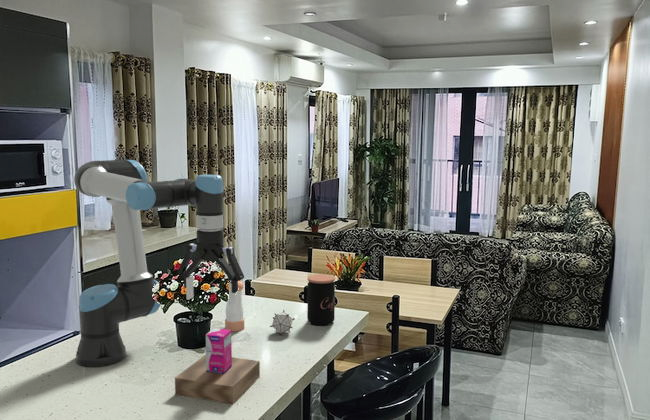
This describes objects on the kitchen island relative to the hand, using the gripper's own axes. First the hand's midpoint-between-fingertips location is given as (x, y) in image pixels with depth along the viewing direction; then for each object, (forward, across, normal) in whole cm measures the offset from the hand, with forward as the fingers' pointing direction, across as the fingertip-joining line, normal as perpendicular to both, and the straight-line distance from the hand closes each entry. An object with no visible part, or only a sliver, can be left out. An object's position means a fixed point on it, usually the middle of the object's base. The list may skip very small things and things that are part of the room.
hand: (210, 300), depth 160 cm
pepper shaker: (+26, -14, +44) cm, 52 cm away
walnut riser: (+25, +3, -1) cm, 25 cm away
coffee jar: (+25, +15, +61) cm, 67 cm away
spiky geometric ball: (+25, +5, +45) cm, 52 cm away
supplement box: (+20, +3, -1) cm, 20 cm away
